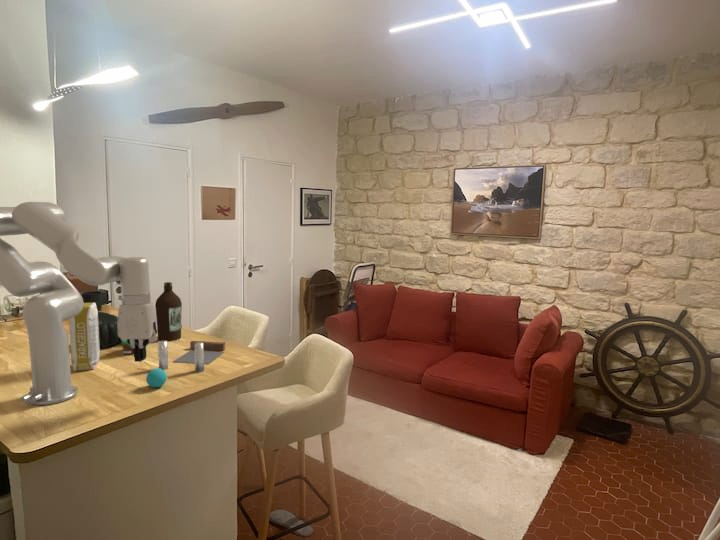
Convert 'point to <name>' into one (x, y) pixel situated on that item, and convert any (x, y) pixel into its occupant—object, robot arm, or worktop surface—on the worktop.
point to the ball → (156, 378)
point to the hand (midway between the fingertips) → (140, 360)
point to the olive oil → (168, 314)
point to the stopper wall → (210, 345)
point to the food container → (127, 348)
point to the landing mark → (190, 357)
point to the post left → (163, 354)
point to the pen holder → (93, 298)
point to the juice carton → (85, 338)
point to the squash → (108, 330)
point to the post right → (199, 357)
